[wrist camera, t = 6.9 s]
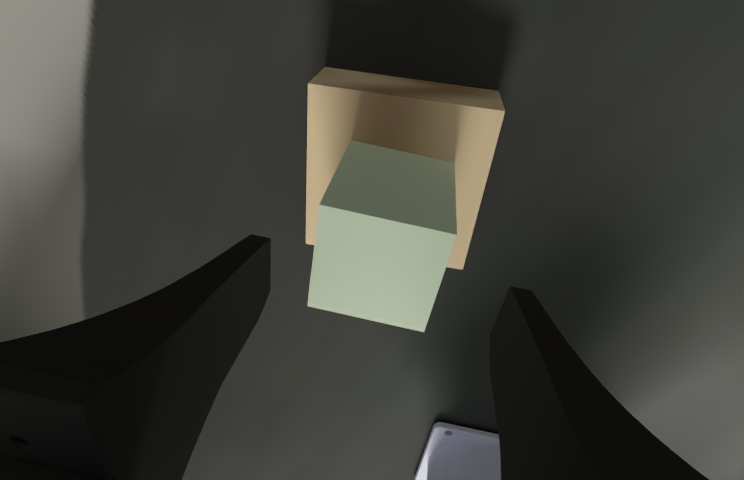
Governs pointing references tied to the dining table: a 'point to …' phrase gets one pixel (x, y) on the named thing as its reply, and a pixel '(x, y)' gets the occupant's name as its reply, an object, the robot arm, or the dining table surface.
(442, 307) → the dining table surface
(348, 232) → the sage cube
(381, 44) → the dining table surface
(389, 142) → the oak block
